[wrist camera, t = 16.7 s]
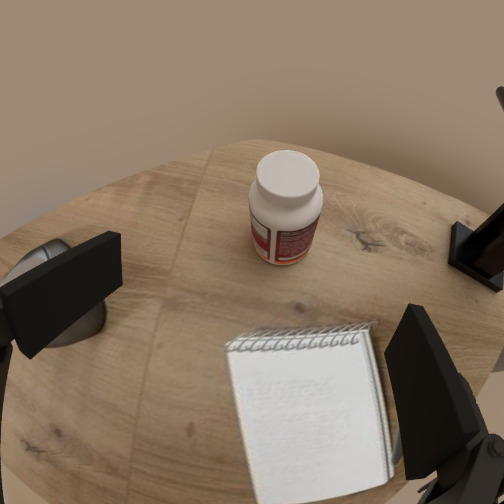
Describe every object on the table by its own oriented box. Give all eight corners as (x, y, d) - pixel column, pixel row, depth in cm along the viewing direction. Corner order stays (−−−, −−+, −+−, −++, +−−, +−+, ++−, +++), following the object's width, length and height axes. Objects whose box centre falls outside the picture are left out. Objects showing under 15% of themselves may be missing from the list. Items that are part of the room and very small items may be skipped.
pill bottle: (316, 223, 30) (336, 154, 20) (302, 274, 28) (323, 217, 17) (262, 209, 31) (260, 136, 21) (244, 257, 29) (233, 194, 19)
